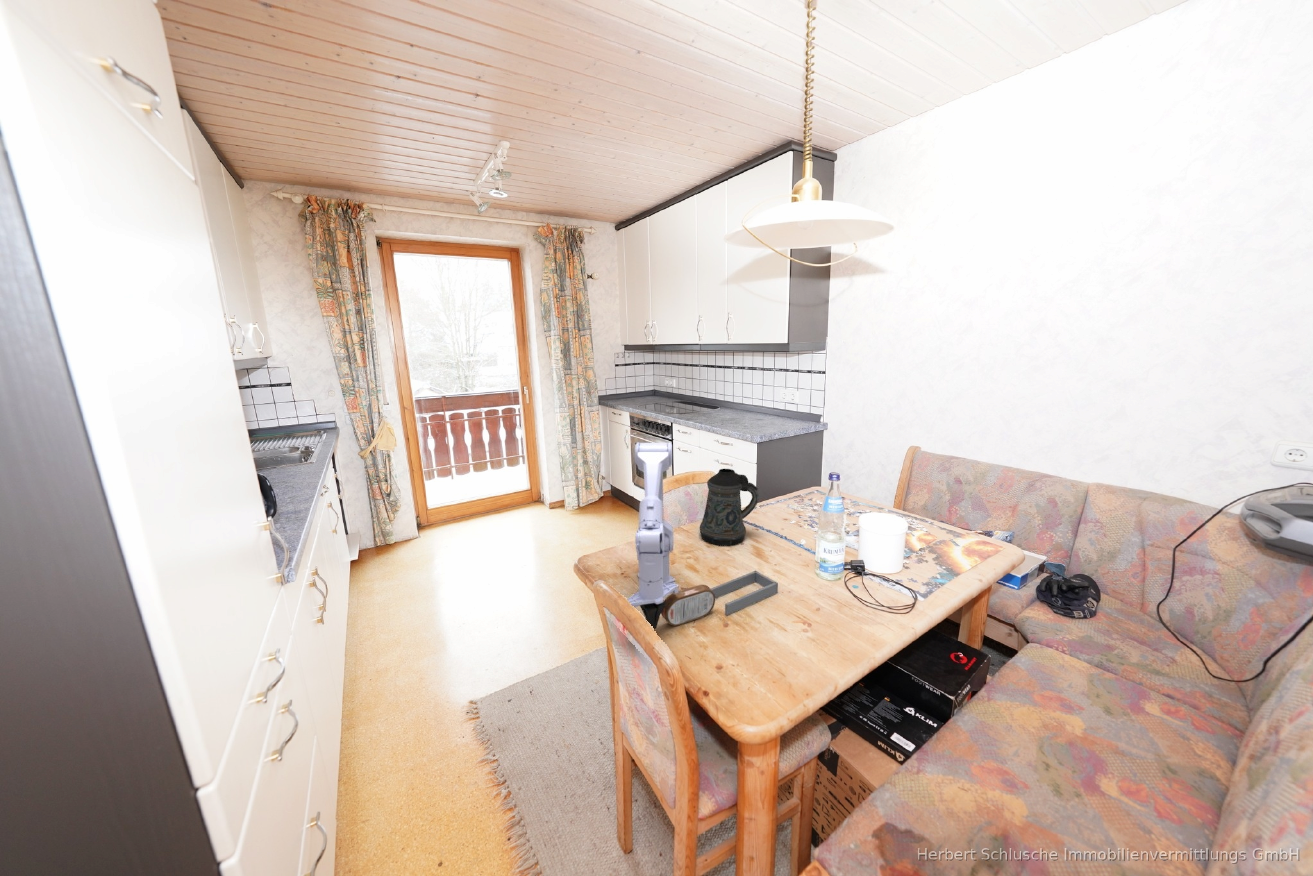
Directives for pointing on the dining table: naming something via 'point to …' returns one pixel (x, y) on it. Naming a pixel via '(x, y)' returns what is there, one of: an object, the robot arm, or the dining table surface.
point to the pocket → (749, 599)
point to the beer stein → (726, 508)
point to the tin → (688, 605)
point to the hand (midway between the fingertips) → (652, 627)
